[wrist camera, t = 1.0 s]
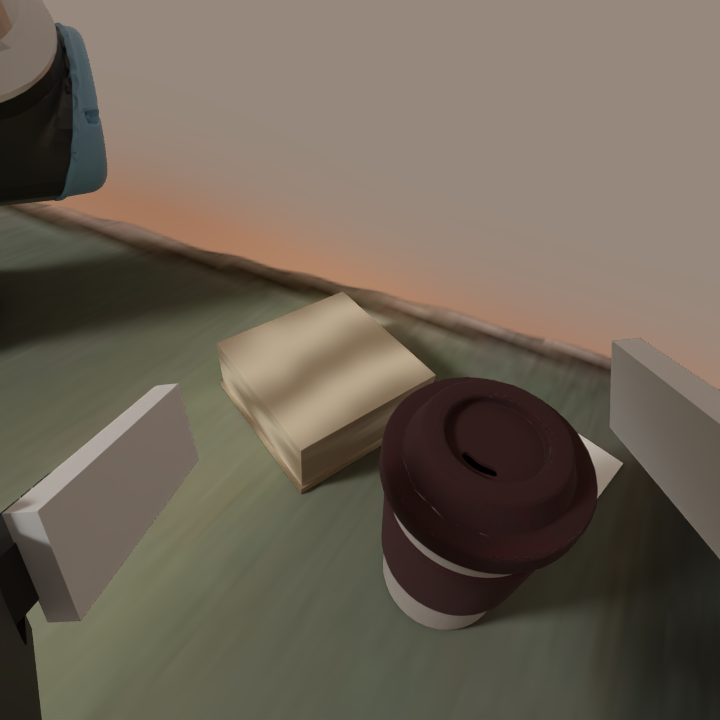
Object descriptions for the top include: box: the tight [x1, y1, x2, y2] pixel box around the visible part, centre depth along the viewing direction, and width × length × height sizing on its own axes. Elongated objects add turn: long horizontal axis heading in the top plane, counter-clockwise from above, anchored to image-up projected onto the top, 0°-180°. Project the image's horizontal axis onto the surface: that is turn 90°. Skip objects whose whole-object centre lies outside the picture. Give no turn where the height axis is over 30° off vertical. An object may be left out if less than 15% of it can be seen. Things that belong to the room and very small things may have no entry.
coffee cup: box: [379, 377, 598, 630], centre depth 28 cm, size 10×10×15 cm
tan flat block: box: [217, 292, 436, 494], centre depth 41 cm, size 12×12×5 cm
